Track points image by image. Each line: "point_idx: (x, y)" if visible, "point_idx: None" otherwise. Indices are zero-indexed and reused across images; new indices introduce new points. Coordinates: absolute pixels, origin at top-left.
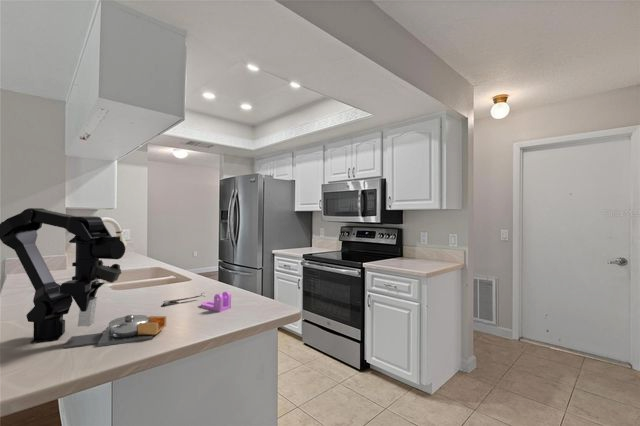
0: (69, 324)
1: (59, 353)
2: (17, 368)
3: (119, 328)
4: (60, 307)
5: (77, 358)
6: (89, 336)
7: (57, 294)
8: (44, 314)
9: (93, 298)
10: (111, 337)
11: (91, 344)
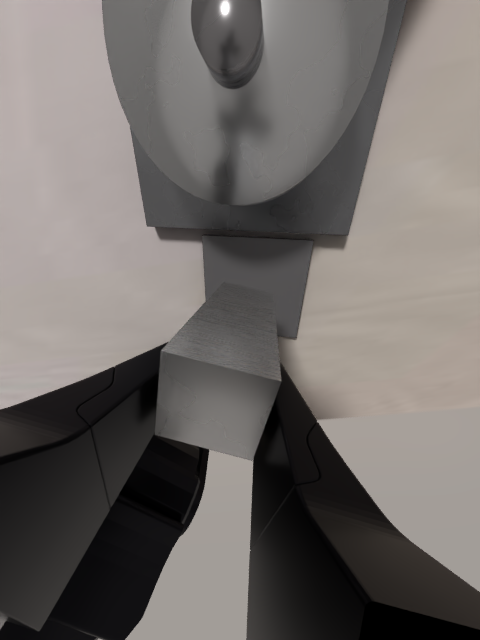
0: (87, 345)
1: (331, 337)
2: (379, 400)
3: (352, 114)
4: (164, 446)
5: (425, 284)
6: (228, 278)
7: (118, 541)
8: (206, 463)
9: (224, 377)
10: (303, 182)
11: (308, 259)
